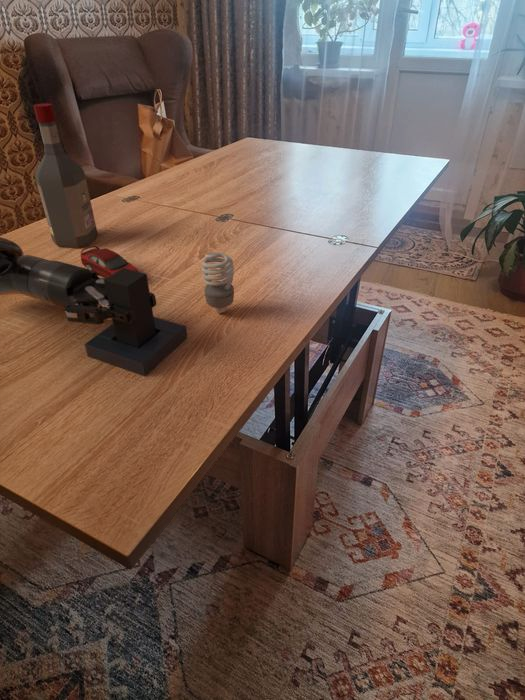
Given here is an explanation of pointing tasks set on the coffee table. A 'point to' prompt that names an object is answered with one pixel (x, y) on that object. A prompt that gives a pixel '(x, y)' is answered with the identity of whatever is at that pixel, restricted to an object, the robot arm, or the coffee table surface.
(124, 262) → the toy car
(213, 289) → the light bulb
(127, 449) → the coffee table surface
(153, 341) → the base pad
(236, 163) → the coffee table surface
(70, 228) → the liquor
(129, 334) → the post
